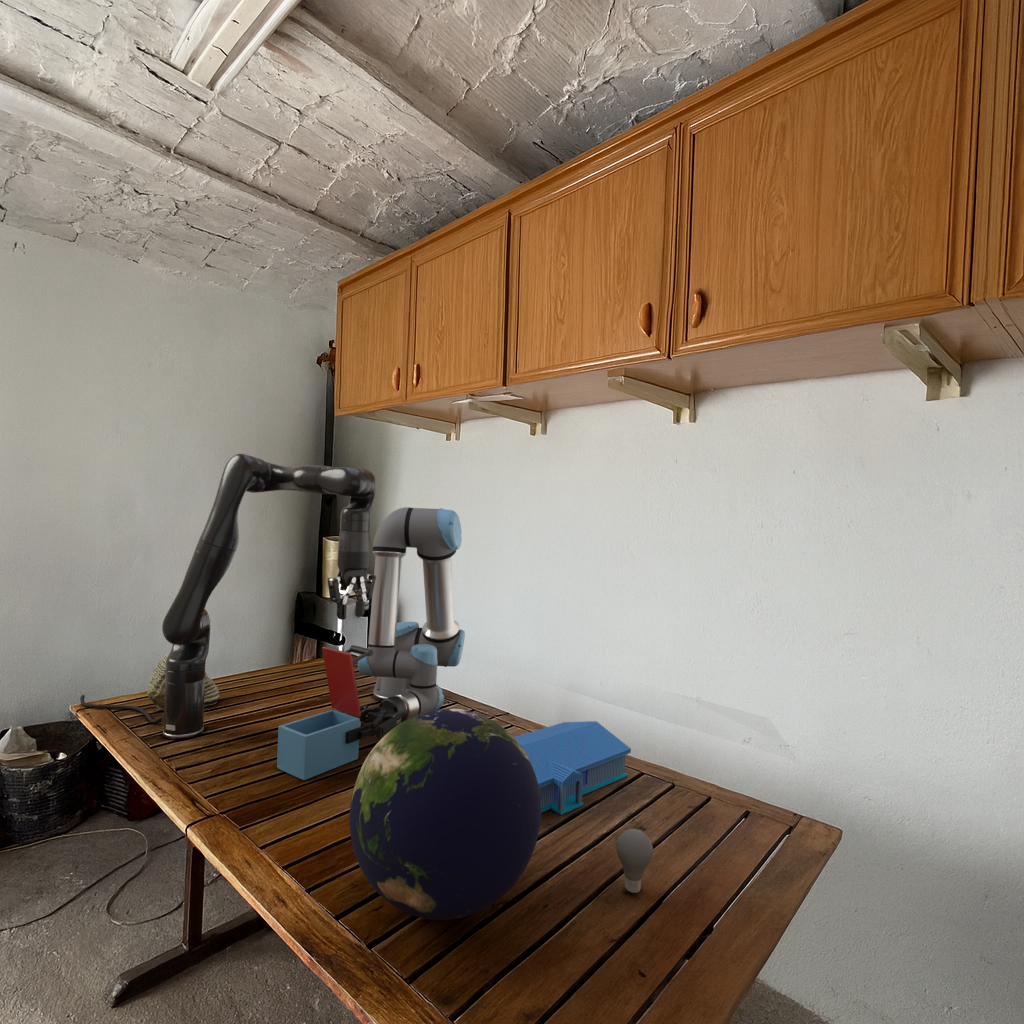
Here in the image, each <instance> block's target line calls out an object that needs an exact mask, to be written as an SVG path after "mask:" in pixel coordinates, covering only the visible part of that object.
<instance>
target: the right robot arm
mask: <svg viewBox="0 0 1024 1024" xmlns="http://www.w3.org/2000/svg"><path fill="white" fill-rule="evenodd" d="M462 539H463V538H462V524H461V520H460V516H459V515H458V513H457V512H456V511H454V509H453V510H452V509H446V508H425V507H409V506H408V507H407V506H405V507H400V508H398V509H395V510H393V511H392V512H391V513H389V514H388V515H387V516H385V518H384V520H383V521H382V522H381V523H380V525H379V527H378V528H377V530H376V533H375V535H374V537H373V543H372V554H373V556H374V557H375V561H374V571H373V572H374V573H373V575H375V576H376V580H375V585H374V590H373V594H372V598H371V607H370V610H371V611H370V619H369V620H370V621H369V632H368V645H367V649H371V650H373V655H372V656H366V657H364V658H363V659H361V660H359V661H357V669H358V672H359V673H360V675H363V676H368V677H374V678H377V679H376V681H375V685H374V687H373V692H372V694H373V698H375V699H376V700H378V701H380V703H379V705H378V706H373V707H369V705H368V704H363V705H360V711H361V716H360V717H357V716H354V715H351V714H348V713H345V712H342V711H339V710H337V711H339V712H342V713H345V714H348V715H351V716H354V717H357V718H360V722H361V723H363V724H364V725H360V727H358V728H356V729H353V730H350V731H347V732H346V743H347V744H349V743H352V742H354V741H357V740H359V741H360V740H362V739H364V738H367V737H375V736H376V738H383V737H384V736H385V735H386V734H387V733H388V732H389V731H391V730H392V729H393V728H395V727H396V726H397V725H399V724H401V723H402V722H404V721H406V720H408V719H410V718H412V717H414V716H416V715H419V714H422V713H425V712H428V711H433V710H440V709H441V707H442V706H443V704H444V701H445V695H444V693H443V689H442V688H441V687H440V685H438V684H437V676H438V667H444V668H447V667H454V668H455V667H457V666H458V665H459V664H460V662H461V659H462V655H463V650H464V644H465V638H466V631H465V630H463V629H460V624H459V622H458V621H457V620H455V610H454V607H455V606H454V586H453V561H452V558H453V557H454V556H456V554H457V550H459V549H460V548H461V546H462ZM407 548H412V549H413V548H414V549H416V556H418V558H419V559H421V560H422V571H423V572H422V574H423V587H424V601H425V618H426V622H425V623H424V624H423V625H422V627H420V624H419V622H417V621H399V622H398V614H399V601H400V587H401V576H402V575H401V574H402V573H401V572H402V563H403V559H404V557H405V556H406V555H407ZM358 655H359V656H361V655H362V654H358ZM359 656H358V657H359Z"/></svg>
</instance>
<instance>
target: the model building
mask: <svg viewBox="0 0 1024 1024" xmlns="http://www.w3.org/2000/svg"><path fill="white" fill-rule="evenodd" d="M513 737H514V738H515V739H516V740H517V742H518V743H519V744H520V745H521V746H522V748H523V749H524V751H525V753H526V754H527V756H528V758H529V759H530V761H531V764H532V767H533V769H534V772H535V775H536V778H537V781H538V786H539V791H540V799H541V814H542V813H544V812H546V811H549V810H551V811H553V812H554V813H557V814H559V815H561V816H562V815H564V814H567V813H569V812H571V811H574V810H576V809H578V808H581V807H583V806H584V805H585V802H583V796H584V795H587V794H589V793H590V792H594V791H596V790H598V789H601V788H603V787H605V786H608V785H610V784H612V783H615V782H617V781H619V780H621V779H624V778H627V777H628V776H629V774H628V773H627V772H625V770H626V769H625V768H626V755H629V754H631V753H632V748H631V747H629V746H628V745H627V744H626V743H625V742H623V741H622V740H621V739H619V737H617V736H616V735H614V734H613V733H612V732H610V730H609V729H607V728H606V727H604V726H603V725H602V724H600V722H598V721H597V720H593V721H591V720H589V721H587V720H586V721H564V722H560V723H556V724H553V725H550V726H546V727H543V728H540V729H536V730H532V731H529V732H526V733H523V734H519V735H516V736H513Z"/></svg>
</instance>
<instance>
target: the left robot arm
mask: <svg viewBox="0 0 1024 1024" xmlns="http://www.w3.org/2000/svg"><path fill="white" fill-rule="evenodd" d="M276 491H277V492H278V491H291V492H300V493H310V494H318V495H319V494H321V495H336V496H343V497H349V501H348V504H347V506H345V507H343V508H342V509H341V512H340V523H339V525H340V526H339V529H340V530H339V536H338V543H337V564H336V565H337V566H336V567H337V568H338V573H337V576H334V577H327V580H326V581H327V587H328V594H329V600H330V602H333V603H336V617H337V619H338V620H341V621H342V620H344V621H345V620H346V619H347V607H348V606H347V605H348V604H347V602H348V598H349V596H351V595H352V592H353V593H354V594H355V599H356V601H355V611H354V612H355V617H359V618H362V617H364V615H365V612H366V611H365V609H366V602H367V601H368V599H372V595H373V590H374V585H375V580H376V576H375V575H374V574H370V573H368V571H367V569H369V567H370V549H371V548H370V547H371V538H370V537H371V535H370V527H371V525H370V523H371V521H370V520H371V517H370V516H371V512H372V509H373V505H374V502H375V498H376V494H377V480H376V476H375V475H374V473H373V472H372V471H371V470H369V469H366V468H358V467H350V466H349V467H348V466H347V467H346V466H329V465H315V464H303V465H295V466H284V465H280V464H275V463H271V462H268V461H265V460H264V459H261V458H259V457H255V456H253V455H249V454H245V453H237V454H234V455H232V457H230V458H229V459H228V461H227V463H226V464H225V466H224V468H223V471H222V474H221V477H220V481H219V484H218V488H217V491H216V495H215V499H214V501H213V504H212V507H211V509H210V512H209V515H208V517H207V520H206V523H205V526H204V527H203V530H202V532H201V534H200V537H199V538H198V541H197V544H196V545H195V549H194V550H193V555H192V556H191V560H190V562H189V564H188V567H187V569H186V572H185V575H184V577H183V580H182V583H181V586H180V588H179V590H178V592H177V594H176V596H175V598H174V599H173V602H172V603H171V605H170V607H169V609H168V611H167V612H166V615H165V616H164V619H163V620H162V624H161V625H162V626H161V629H162V635H163V637H164V639H165V640H166V641H167V642H168V643H169V644H171V645H172V646H171V650H170V652H169V654H167V655H168V657H167V659H166V674H165V705H164V710H163V712H161V716H158V717H157V718H156V719H153V717H152V716H151V714H150V713H148V712H147V711H146V710H145V709H143V708H142V707H139V706H136V705H124V704H122V705H121V704H96V703H89V702H85V697H86V696H85V694H82V695H80V698H79V700H80V705H82V706H83V707H85V708H96V709H116V710H117V709H119V710H121V709H122V710H133V711H137V712H139V713H141V714H142V715H143V716H145V717H146V718H147V720H148V722H149V723H151V724H158V723H159V722H161V725H162V726H163V730H162V737H164V738H166V739H169V740H185V739H190V738H191V739H192V738H194V737H197V736H199V735H202V734H203V732H204V730H205V729H204V727H205V725H204V722H205V721H204V718H205V706H204V693H205V672H206V664H207V663H206V662H207V658H208V655H209V651H210V639H211V617H210V614H209V612H208V611H207V610H206V606H207V603H208V602H209V601H208V600H209V598H210V597H211V595H212V593H213V591H214V590H215V589H216V588H217V586H218V585H219V583H220V582H221V580H222V579H223V577H224V576H225V574H226V573H227V571H228V570H229V568H230V566H231V564H232V562H233V559H234V557H235V555H236V552H237V550H238V547H239V543H240V527H239V511H240V505H242V504H241V503H242V501H243V498H244V496H245V494H246V492H247V493H250V494H251V493H252V494H257V493H266V492H276Z"/></svg>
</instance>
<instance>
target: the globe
mask: <svg viewBox="0 0 1024 1024" xmlns="http://www.w3.org/2000/svg"><path fill="white" fill-rule="evenodd" d="M514 737H515V736H513V735H512V734H511V732H509V731H508V730H507V729H505V727H503V726H502V725H501V724H499V723H498V722H497V721H494V720H493V719H491V718H489V717H486V716H485V715H482V714H479V713H478V712H474V711H469V710H465V709H462V708H440V709H437V710H433V711H428V712H425V713H422V714H419V715H416V716H414V717H412V718H410V719H408V720H406V721H404V722H402V723H401V724H399V725H397V726H396V727H395V728H393V729H392V730H391V731H389V732H388V733H386V734H385V735H383V736H382V737H381V739H380V740H379V741H378V742H377V743H376V744H375V746H373V748H372V749H371V750H370V752H369V753H368V755H367V757H366V758H365V760H364V762H363V763H362V765H361V768H360V770H359V772H358V775H357V777H356V780H355V783H354V786H353V789H352V793H351V799H350V804H349V805H350V806H349V832H350V833H349V834H350V841H351V845H352V849H353V853H354V856H355V857H356V862H357V864H358V866H359V868H360V870H361V871H362V873H363V875H364V877H365V879H366V880H367V881H368V883H369V884H370V885H371V887H372V888H373V889H374V890H375V892H376V893H377V894H378V895H380V897H381V898H382V899H384V900H385V901H386V902H387V903H388V904H390V905H392V906H393V907H395V908H396V909H398V910H400V911H402V912H404V913H405V914H408V915H411V916H413V917H416V918H421V919H426V920H433V921H448V920H449V921H450V920H457V919H462V918H466V917H468V916H472V915H474V914H477V913H479V912H481V911H483V910H485V909H487V908H489V907H490V906H491V905H493V904H494V903H496V902H497V901H499V900H500V899H501V898H502V897H503V896H504V895H506V894H507V893H508V892H509V891H510V890H511V889H512V887H514V885H515V884H516V883H517V881H518V880H519V879H520V878H521V877H522V875H523V874H524V872H525V870H526V868H527V867H528V865H529V863H530V860H531V858H532V856H533V853H534V851H535V848H536V846H537V842H538V839H539V833H540V828H541V820H542V813H541V799H540V791H539V786H538V781H537V778H536V775H535V772H534V769H533V767H532V764H531V761H530V759H529V758H528V756H527V754H526V753H525V751H524V749H523V748H522V746H521V745H520V744H519V743H518V742H517V740H516V739H515V738H514Z"/></svg>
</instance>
